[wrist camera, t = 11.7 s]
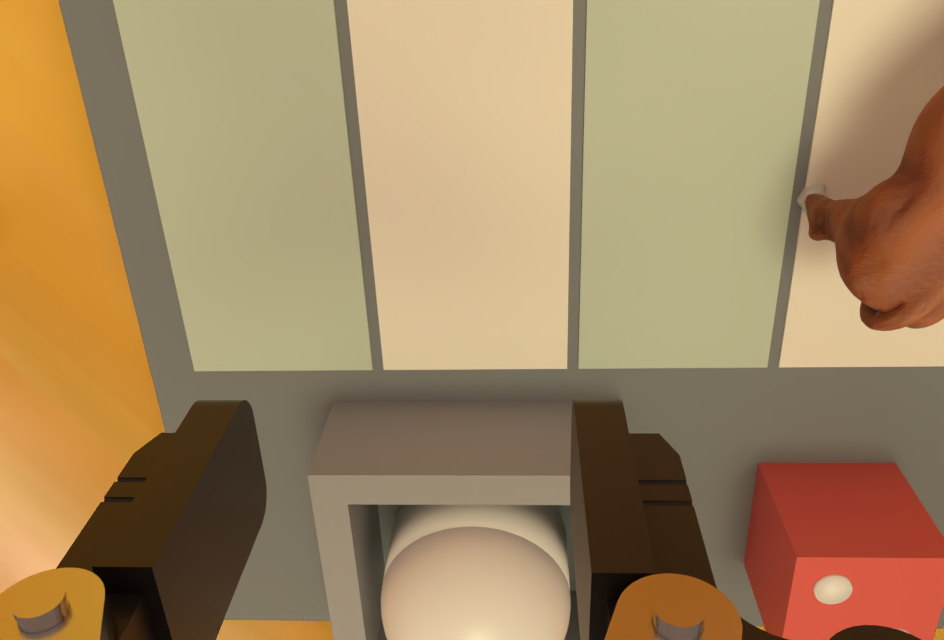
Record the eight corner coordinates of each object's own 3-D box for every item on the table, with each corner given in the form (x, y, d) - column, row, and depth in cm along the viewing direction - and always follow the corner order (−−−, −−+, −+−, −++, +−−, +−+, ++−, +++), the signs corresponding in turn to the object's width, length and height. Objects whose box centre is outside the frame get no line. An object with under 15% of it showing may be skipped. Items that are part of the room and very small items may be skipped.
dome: (564, 598, 34) (574, 749, 28) (400, 597, 34) (376, 745, 28) (567, 465, 31) (578, 603, 25) (387, 465, 31) (356, 600, 25)
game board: (936, 617, 36) (1006, 740, 30) (216, 608, 37) (168, 723, 32) (1173, -181, 22) (1368, -201, 17) (37, -130, 24) (-93, -134, 19)
